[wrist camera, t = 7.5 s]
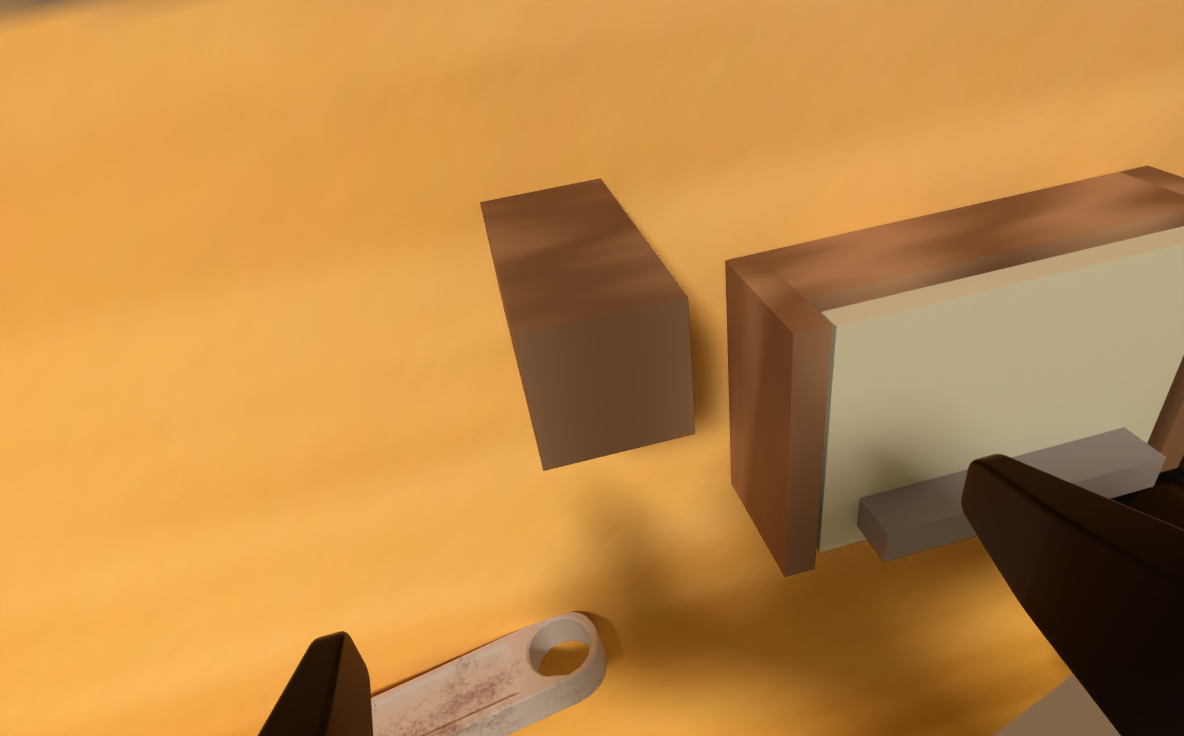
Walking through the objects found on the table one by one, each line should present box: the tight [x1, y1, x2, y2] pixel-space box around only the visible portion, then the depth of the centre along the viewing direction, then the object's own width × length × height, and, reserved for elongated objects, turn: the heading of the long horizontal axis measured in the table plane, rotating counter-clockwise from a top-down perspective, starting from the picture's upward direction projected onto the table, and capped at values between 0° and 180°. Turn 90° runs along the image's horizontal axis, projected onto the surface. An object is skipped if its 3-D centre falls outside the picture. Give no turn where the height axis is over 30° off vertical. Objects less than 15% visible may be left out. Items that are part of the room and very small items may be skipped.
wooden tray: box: [725, 166, 1184, 577], centre depth 22 cm, size 14×9×4 cm, turn 98°
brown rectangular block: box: [480, 179, 695, 471], centre depth 16 cm, size 3×3×7 cm
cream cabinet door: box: [816, 226, 1184, 562], centre depth 20 cm, size 11×8×2 cm
